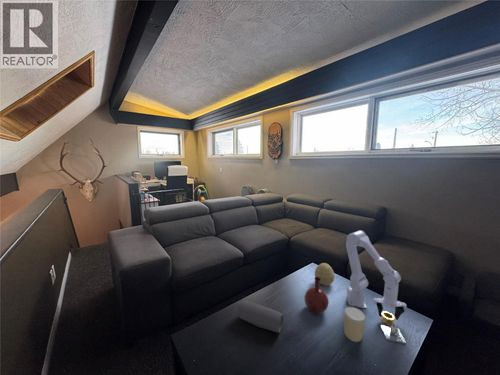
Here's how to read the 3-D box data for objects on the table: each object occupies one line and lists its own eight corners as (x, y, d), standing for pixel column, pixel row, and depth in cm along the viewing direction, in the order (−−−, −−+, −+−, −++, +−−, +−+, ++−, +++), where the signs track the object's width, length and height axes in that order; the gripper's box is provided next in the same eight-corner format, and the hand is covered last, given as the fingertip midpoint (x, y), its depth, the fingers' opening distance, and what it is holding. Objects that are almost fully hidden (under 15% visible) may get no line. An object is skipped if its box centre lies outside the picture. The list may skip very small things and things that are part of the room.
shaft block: (386, 340, 95) (387, 332, 95) (380, 326, 103) (381, 319, 102) (405, 344, 93) (406, 335, 93) (397, 330, 101) (398, 322, 100)
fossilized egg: (331, 292, 129) (333, 271, 127) (312, 285, 136) (313, 265, 134) (335, 282, 140) (336, 262, 138) (317, 276, 147) (318, 257, 144)
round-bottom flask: (302, 315, 110) (304, 282, 107) (305, 299, 123) (306, 270, 120) (327, 322, 106) (329, 288, 103) (327, 305, 118) (330, 274, 115)
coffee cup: (361, 329, 101) (363, 308, 99) (365, 346, 92) (367, 323, 91) (341, 324, 104) (343, 304, 102) (343, 340, 95) (345, 318, 94)
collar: (383, 324, 105) (384, 318, 104) (379, 316, 110) (380, 310, 109) (395, 326, 103) (396, 320, 103) (390, 318, 108) (391, 312, 108)
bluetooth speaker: (283, 325, 104) (283, 308, 102) (278, 340, 95) (278, 321, 94) (244, 311, 113) (244, 295, 112) (237, 323, 105) (236, 306, 103)
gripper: (377, 296, 102) (375, 319, 104) (410, 301, 98) (407, 325, 100) (373, 288, 109) (371, 310, 111) (403, 292, 105) (401, 315, 107)
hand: (388, 316), depth 106 cm, fingers open, 7 cm apart
